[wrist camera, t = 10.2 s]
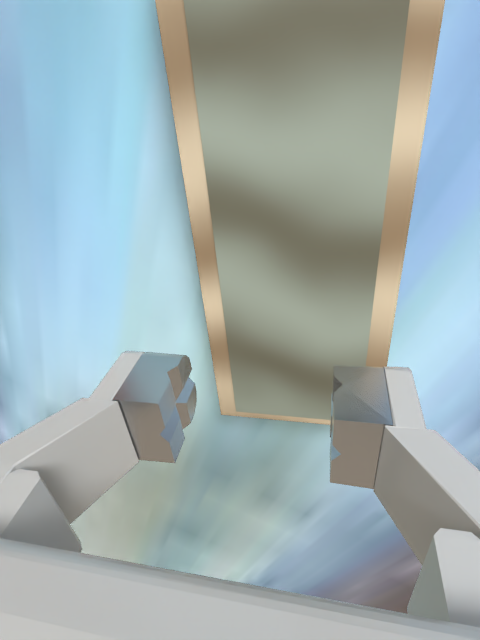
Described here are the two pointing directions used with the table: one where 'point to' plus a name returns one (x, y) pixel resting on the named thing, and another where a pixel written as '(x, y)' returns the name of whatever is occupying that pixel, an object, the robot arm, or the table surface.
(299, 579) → the table surface
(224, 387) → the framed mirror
